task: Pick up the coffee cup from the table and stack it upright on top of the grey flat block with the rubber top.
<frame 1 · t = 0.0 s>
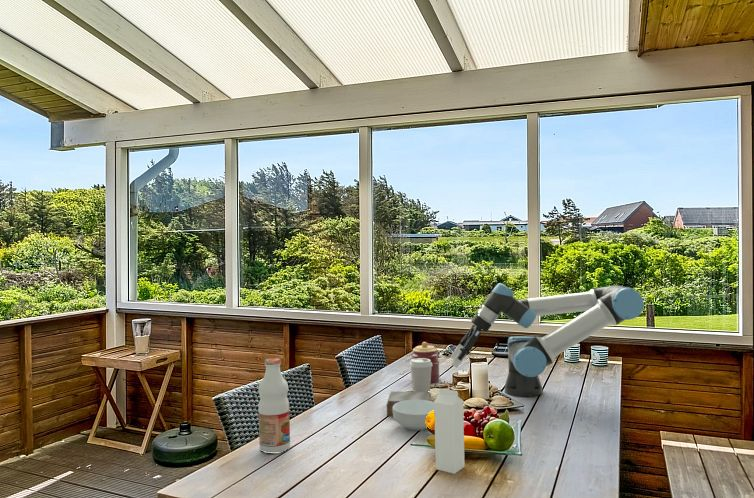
hand: (453, 362, 219), 15 cm above the table, tool tilted 35°, fingers open, 13 cm apart
cereal bowl: (417, 427, 190), on the table
coffee cup: (421, 397, 226), on the table
grey flat block: (409, 410, 209), on the table
canister: (425, 380, 253), on the table
milk: (450, 468, 154), on the table
fruit juice: (275, 449, 172), on the table
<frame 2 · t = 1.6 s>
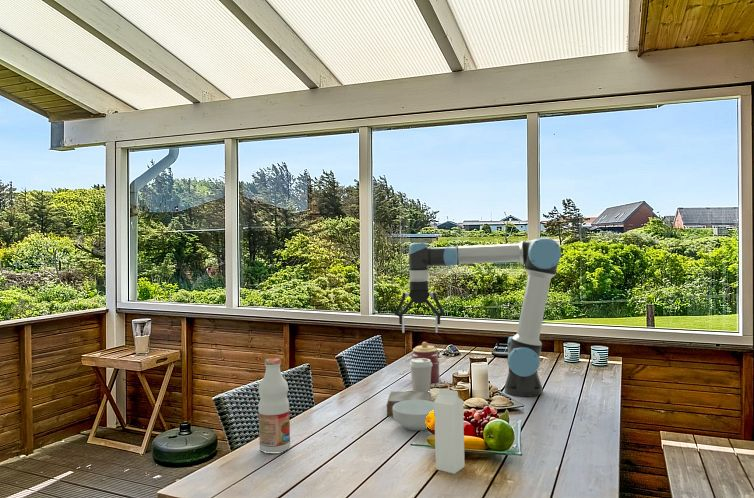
hand: (420, 332, 226), 26 cm above the table, tool pointing down, fingers open, 13 cm apart
nothing on the table moved.
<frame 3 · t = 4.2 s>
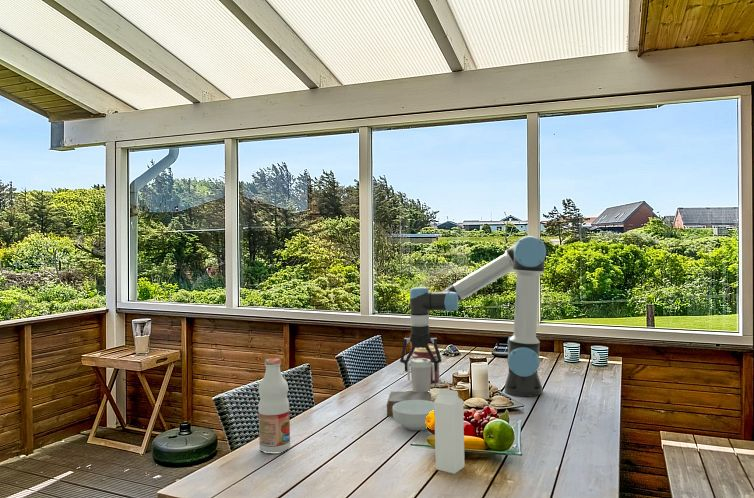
hand: (421, 379, 226), 7 cm above the table, tool pointing down, fingers closed on coffee cup, 9 cm apart
coffee cup: (421, 397, 226), on the table, touching gripper
everything else where it was.
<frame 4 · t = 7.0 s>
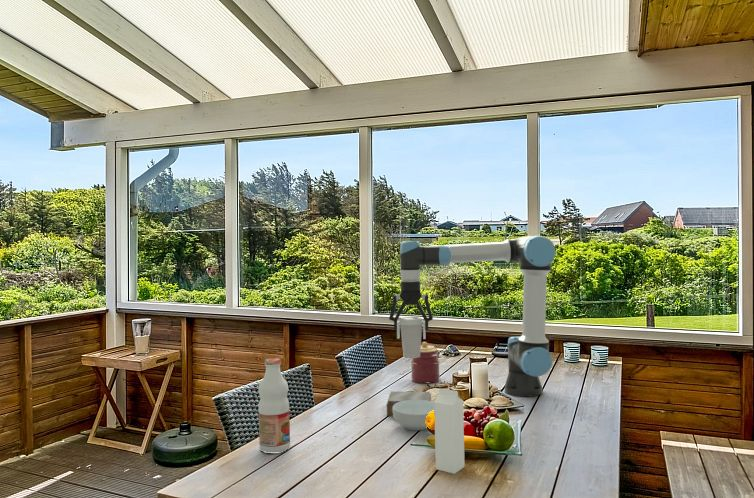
hand: (411, 338, 214), 26 cm above the table, tool pointing down, fingers closed on coffee cup, 9 cm apart
coffee cup: (411, 357, 215), point 19 cm above the table, touching gripper
everything else where it was.
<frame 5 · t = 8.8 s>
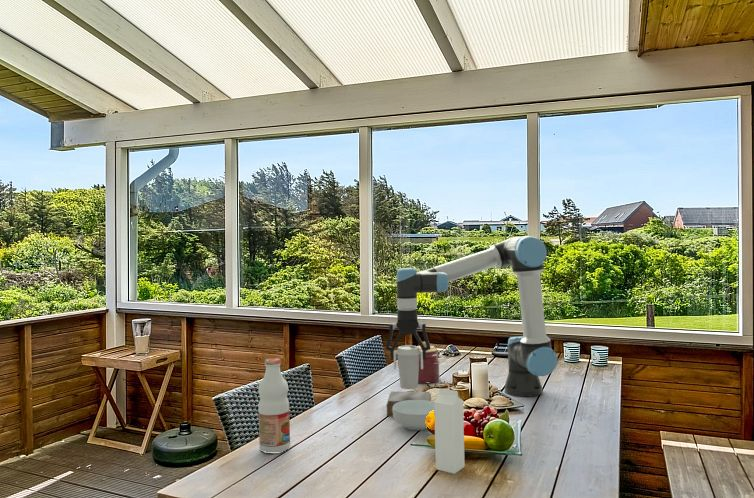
hand: (408, 368, 208), 16 cm above the table, tool pointing down, fingers closed on coffee cup, 9 cm apart
coffee cup: (409, 387, 208), point 9 cm above the table, touching gripper
everything else where it was.
when the fingers open (14 cm above the table, at t = 10.1 s): coffee cup drops 1 cm, resting on grey flat block.
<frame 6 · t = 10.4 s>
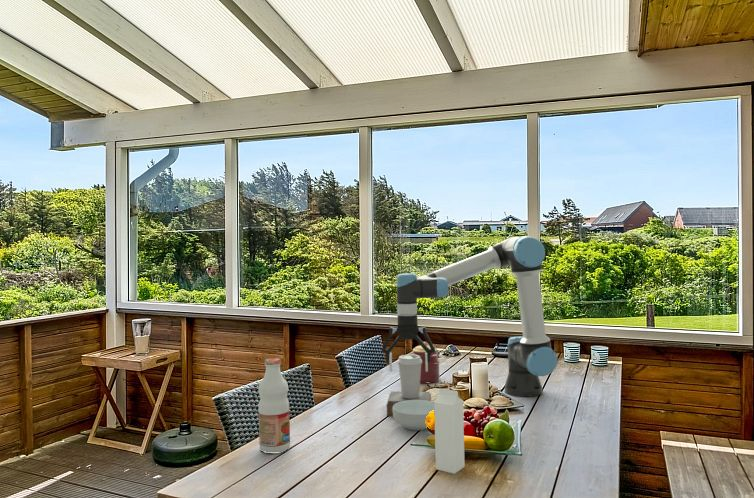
hand: (408, 370, 208), 15 cm above the table, tool pointing down, fingers open, 13 cm apart
coffee cup: (410, 396, 208), point 5 cm above the table, touching grey flat block
everything else where it was.
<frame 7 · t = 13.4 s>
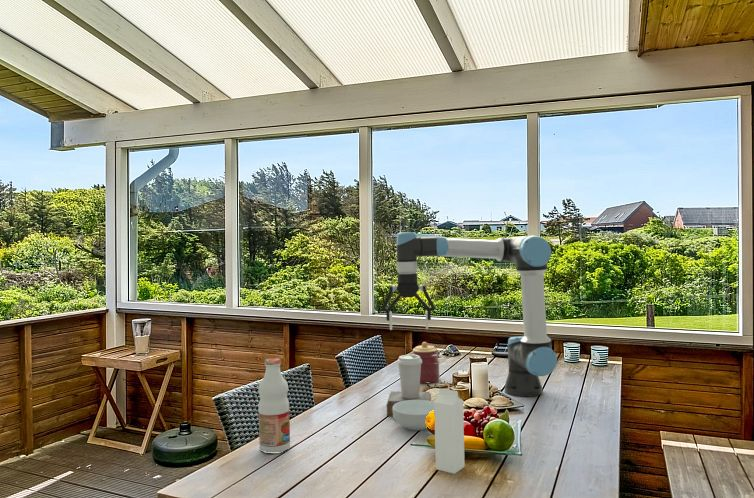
hand: (408, 329, 209), 31 cm above the table, tool pointing down, fingers open, 13 cm apart
nothing on the table moved.
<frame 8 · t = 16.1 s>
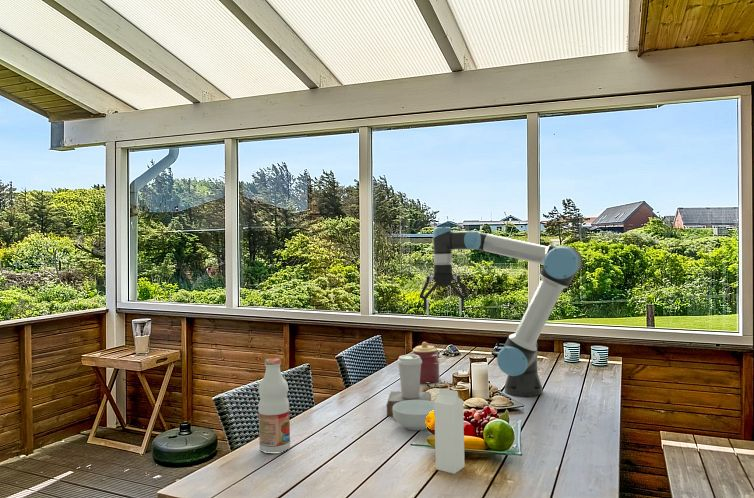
hand: (444, 314, 230), 33 cm above the table, tool pointing down, fingers open, 13 cm apart
nothing on the table moved.
at the end: coffee cup inside the target area on the grey flat block (0.4 cm from its centre), point 5.0 cm above the grey flat block's base; coffee cup tilted 0°; the gripper is holding nothing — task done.
